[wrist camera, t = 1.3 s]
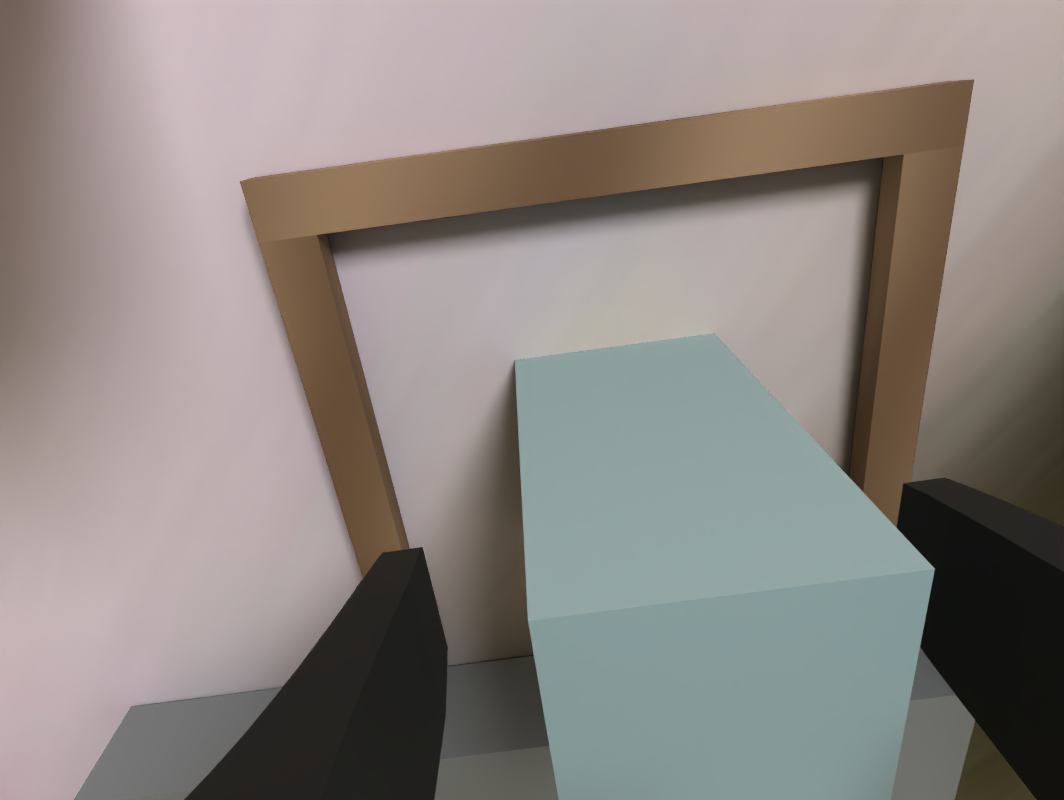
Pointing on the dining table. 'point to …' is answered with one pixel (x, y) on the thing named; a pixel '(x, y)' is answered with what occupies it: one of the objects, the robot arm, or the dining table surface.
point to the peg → (706, 586)
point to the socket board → (474, 740)
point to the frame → (610, 168)
